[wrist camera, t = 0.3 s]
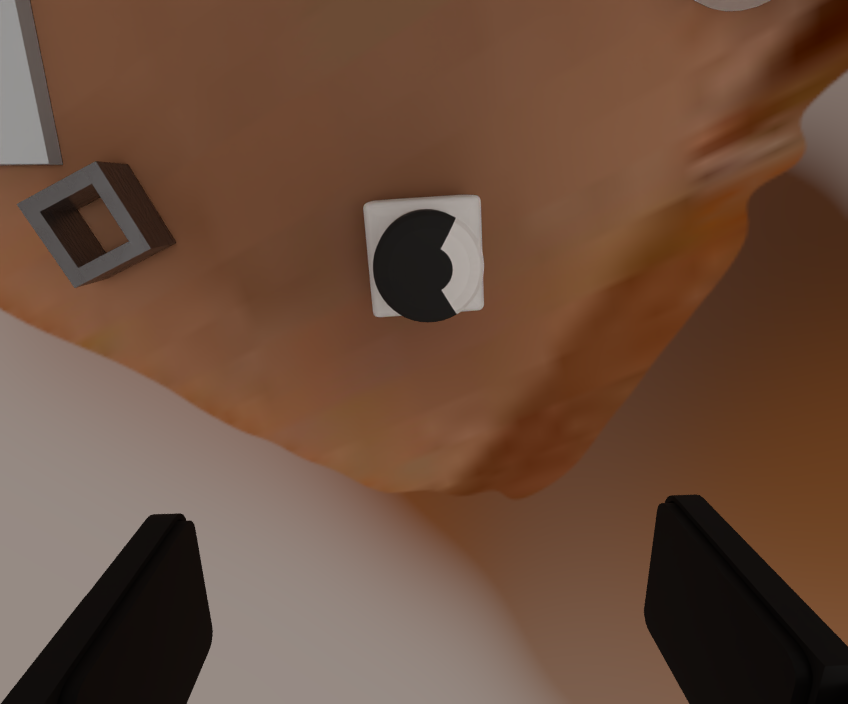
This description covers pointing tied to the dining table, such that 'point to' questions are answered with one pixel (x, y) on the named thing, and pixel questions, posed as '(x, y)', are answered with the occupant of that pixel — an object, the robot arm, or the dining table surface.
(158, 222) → the link
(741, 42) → the dining table surface
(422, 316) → the medicine bottle
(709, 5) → the bottle
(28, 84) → the keeper
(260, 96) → the dining table surface
